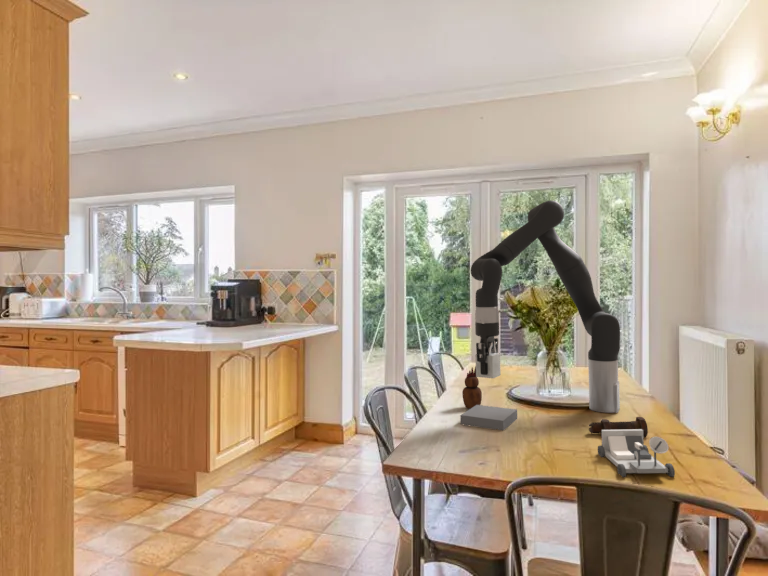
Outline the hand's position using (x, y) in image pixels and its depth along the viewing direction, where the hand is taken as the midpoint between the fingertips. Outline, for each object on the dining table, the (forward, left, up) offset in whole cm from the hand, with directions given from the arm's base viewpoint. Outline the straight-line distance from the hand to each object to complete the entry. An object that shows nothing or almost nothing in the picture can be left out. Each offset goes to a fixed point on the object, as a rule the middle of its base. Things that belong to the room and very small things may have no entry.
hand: (488, 372), depth 157 cm
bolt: (-37, -4, -16) cm, 41 cm away
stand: (0, 0, -16) cm, 16 cm away
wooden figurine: (+11, -13, -16) cm, 24 cm away
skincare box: (0, 0, -1) cm, 1 cm away
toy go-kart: (-44, +20, -17) cm, 51 cm away
